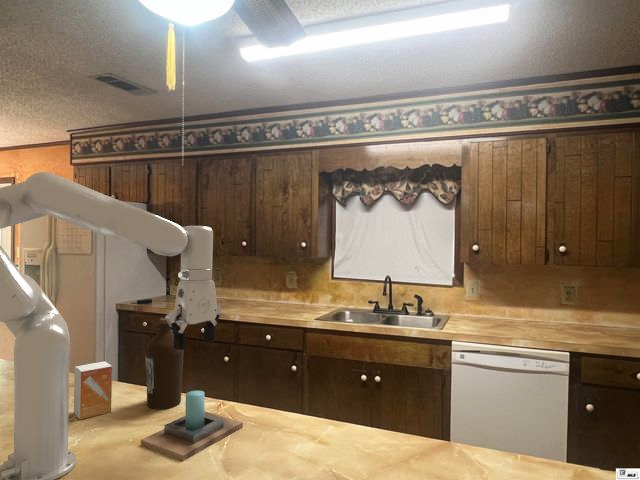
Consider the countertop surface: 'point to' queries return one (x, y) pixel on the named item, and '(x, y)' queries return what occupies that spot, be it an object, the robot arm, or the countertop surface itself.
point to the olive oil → (163, 369)
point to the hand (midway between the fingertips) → (194, 344)
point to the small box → (92, 389)
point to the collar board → (190, 436)
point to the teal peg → (194, 410)
